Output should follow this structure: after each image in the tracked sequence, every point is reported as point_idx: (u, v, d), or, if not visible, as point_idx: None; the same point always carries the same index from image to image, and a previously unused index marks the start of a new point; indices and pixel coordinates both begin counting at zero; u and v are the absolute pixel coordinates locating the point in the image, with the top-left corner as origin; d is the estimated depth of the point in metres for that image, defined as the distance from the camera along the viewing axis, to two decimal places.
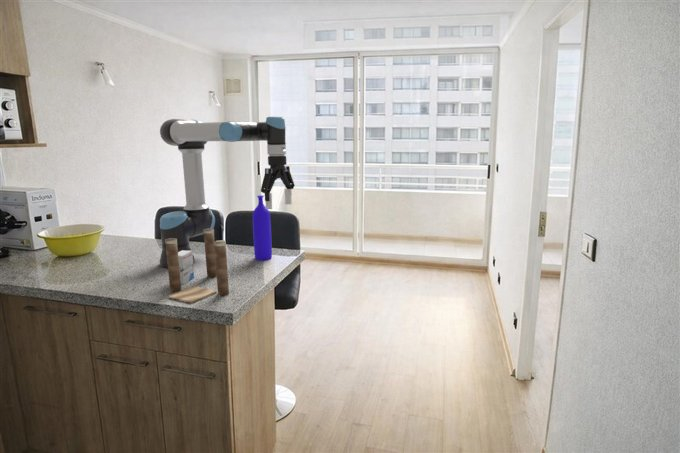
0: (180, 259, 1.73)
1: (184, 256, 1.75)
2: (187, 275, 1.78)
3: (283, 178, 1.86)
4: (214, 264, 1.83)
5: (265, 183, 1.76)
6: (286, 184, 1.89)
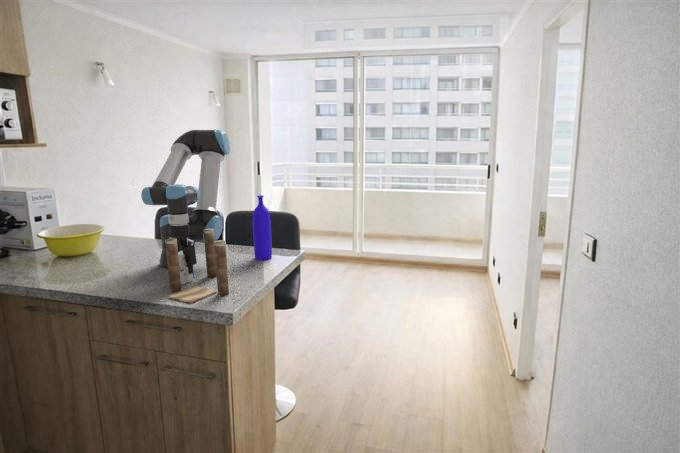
0: (180, 259, 1.73)
1: (184, 256, 1.75)
2: None
3: None
4: (214, 264, 1.83)
5: None
6: None
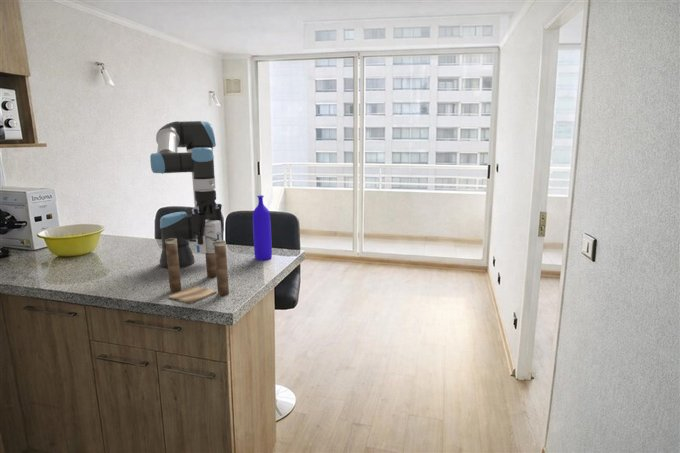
0: (220, 224, 1.67)
1: None
2: None
3: (211, 216, 1.67)
4: (214, 264, 1.83)
5: (195, 226, 1.61)
6: None
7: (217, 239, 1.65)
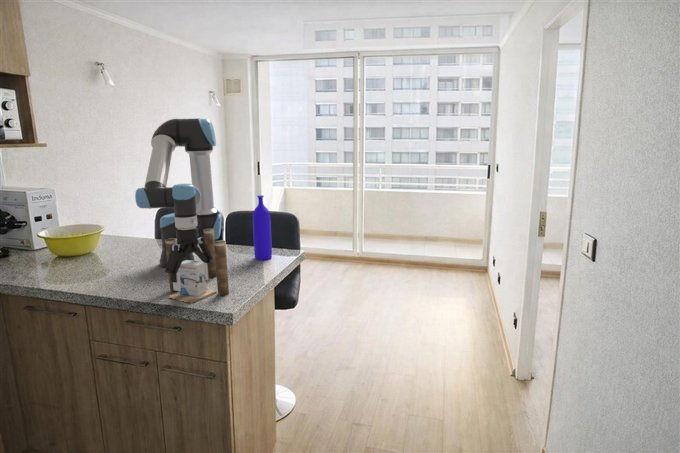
0: (204, 265, 1.62)
1: None
2: None
3: (196, 252, 1.62)
4: (214, 264, 1.83)
5: (170, 263, 1.52)
6: (201, 258, 1.65)
7: (200, 281, 1.60)
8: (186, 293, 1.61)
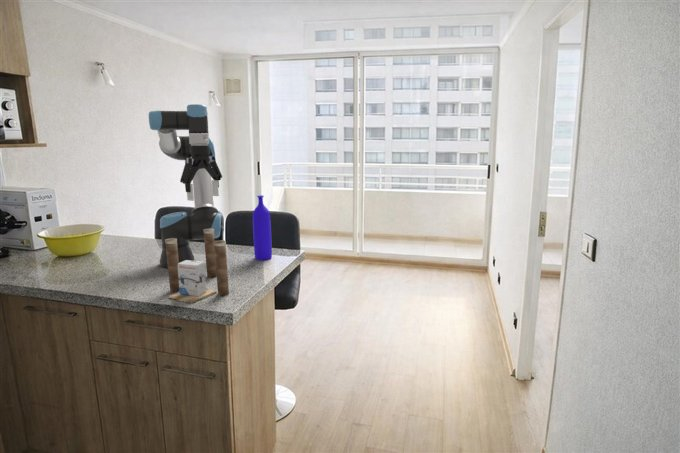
0: (204, 265, 1.62)
1: None
2: None
3: (208, 169, 1.80)
4: (214, 264, 1.83)
5: (185, 173, 1.70)
6: (212, 175, 1.83)
7: (200, 281, 1.60)
8: (186, 293, 1.61)
